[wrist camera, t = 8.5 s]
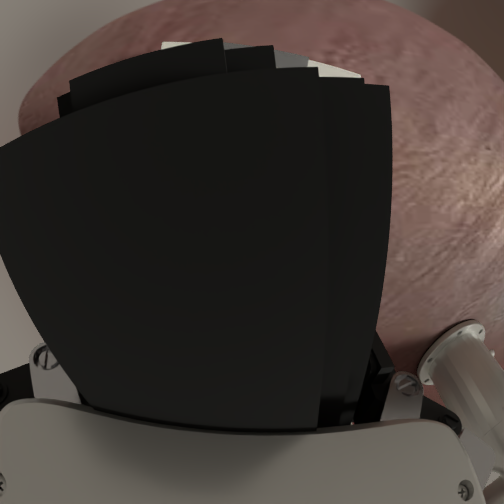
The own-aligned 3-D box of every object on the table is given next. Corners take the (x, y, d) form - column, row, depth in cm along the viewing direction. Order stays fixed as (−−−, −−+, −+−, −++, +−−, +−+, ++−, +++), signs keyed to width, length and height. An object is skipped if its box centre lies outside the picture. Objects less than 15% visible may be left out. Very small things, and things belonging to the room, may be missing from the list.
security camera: (206, 395, 19) (201, 524, 10) (126, 111, 11) (-78, 149, 2) (302, 384, 19) (329, 513, 10) (287, 84, 11) (446, 17, 2)
